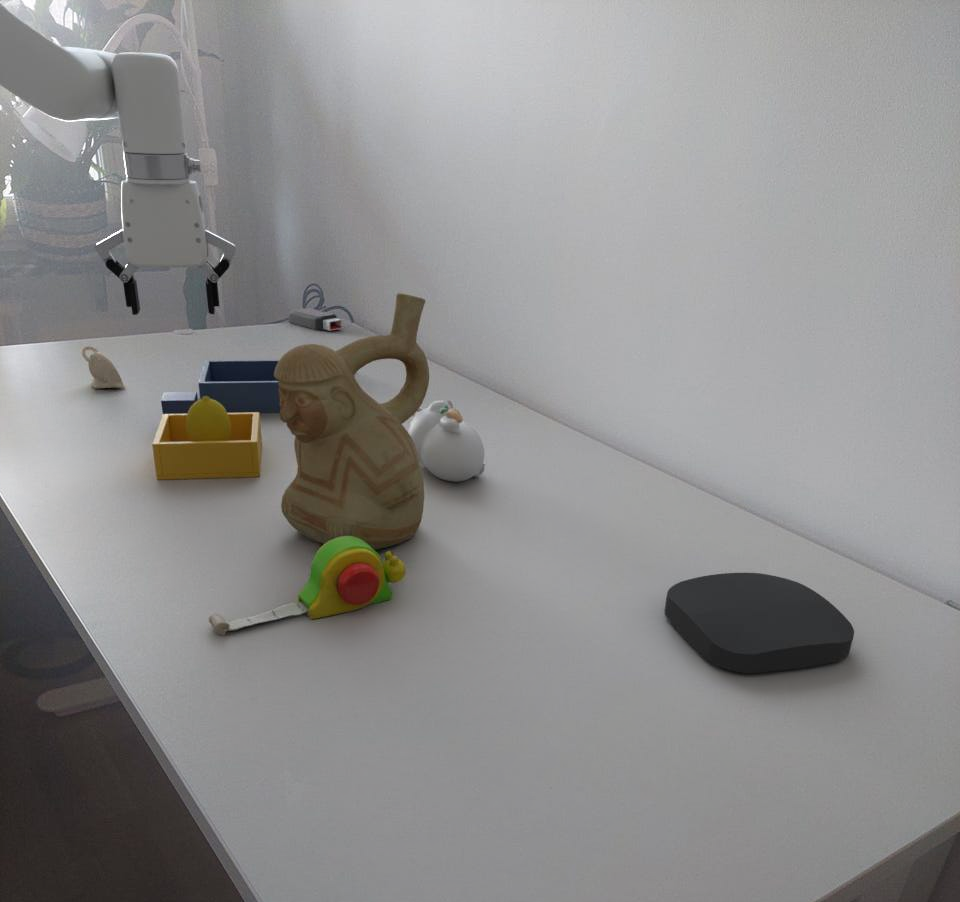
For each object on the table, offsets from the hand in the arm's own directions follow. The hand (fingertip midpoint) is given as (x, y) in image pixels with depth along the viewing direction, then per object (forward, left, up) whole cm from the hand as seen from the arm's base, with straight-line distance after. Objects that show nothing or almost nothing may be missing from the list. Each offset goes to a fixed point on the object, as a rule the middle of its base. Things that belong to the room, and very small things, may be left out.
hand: (174, 312), depth 128 cm
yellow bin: (+4, -12, -17) cm, 21 cm away
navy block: (-1, +3, -17) cm, 17 cm away
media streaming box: (+57, -64, -17) cm, 87 cm away
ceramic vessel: (+22, -37, -17) cm, 46 cm away
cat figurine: (+34, -18, -17) cm, 42 cm away
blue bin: (+8, +16, -17) cm, 25 cm away
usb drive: (+20, +69, -17) cm, 74 cm away
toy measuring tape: (+16, -55, -17) cm, 59 cm away
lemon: (+4, -12, -16) cm, 20 cm away
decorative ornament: (-15, +26, -17) cm, 35 cm away
